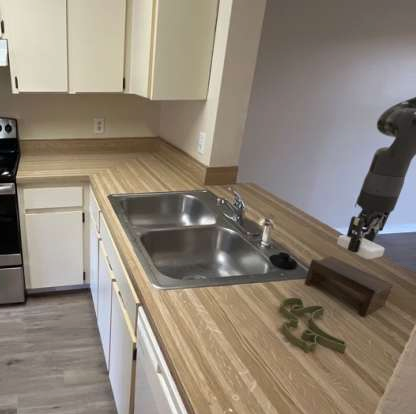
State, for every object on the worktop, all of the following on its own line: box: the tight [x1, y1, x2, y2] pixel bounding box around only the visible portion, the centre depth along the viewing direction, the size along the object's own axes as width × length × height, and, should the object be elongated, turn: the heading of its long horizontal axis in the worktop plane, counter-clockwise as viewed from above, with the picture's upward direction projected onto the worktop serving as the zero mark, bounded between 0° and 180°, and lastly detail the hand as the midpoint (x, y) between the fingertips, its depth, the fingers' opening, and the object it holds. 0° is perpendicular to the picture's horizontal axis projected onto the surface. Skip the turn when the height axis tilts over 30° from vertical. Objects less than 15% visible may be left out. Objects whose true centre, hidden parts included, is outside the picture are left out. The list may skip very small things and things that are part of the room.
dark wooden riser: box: [304, 255, 394, 318], centre depth 93 cm, size 10×16×8 cm, turn 27°
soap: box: [336, 234, 386, 260], centre depth 89 cm, size 9×6×3 cm, turn 15°
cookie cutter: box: [280, 297, 347, 354], centre depth 82 cm, size 18×12×2 cm, turn 168°
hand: (359, 248), depth 89 cm, fingers closed on soap, 6 cm apart
